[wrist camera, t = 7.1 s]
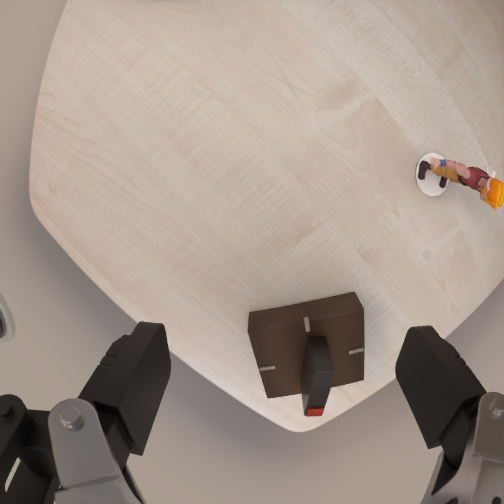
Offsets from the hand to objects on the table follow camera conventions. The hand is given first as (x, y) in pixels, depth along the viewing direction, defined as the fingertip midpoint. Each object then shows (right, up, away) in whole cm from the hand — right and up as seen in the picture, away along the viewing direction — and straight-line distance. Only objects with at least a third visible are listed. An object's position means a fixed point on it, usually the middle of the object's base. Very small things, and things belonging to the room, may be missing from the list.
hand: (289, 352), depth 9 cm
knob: (+4, -7, +16) cm, 18 cm away
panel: (+4, -6, +19) cm, 20 cm away
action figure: (+16, +10, +13) cm, 23 cm away
